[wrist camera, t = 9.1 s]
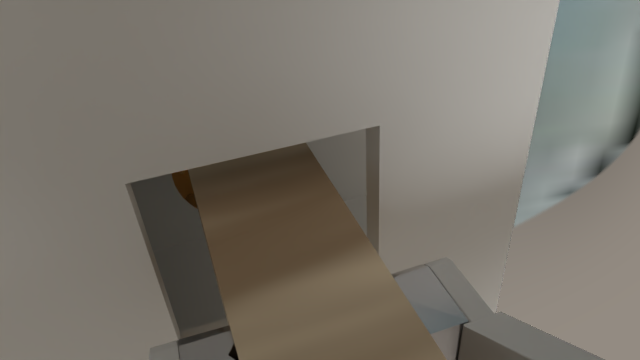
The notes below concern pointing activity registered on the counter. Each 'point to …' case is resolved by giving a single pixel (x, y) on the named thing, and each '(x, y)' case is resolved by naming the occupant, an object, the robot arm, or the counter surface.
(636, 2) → the counter surface
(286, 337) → the rectangular block
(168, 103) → the box
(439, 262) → the robot arm
